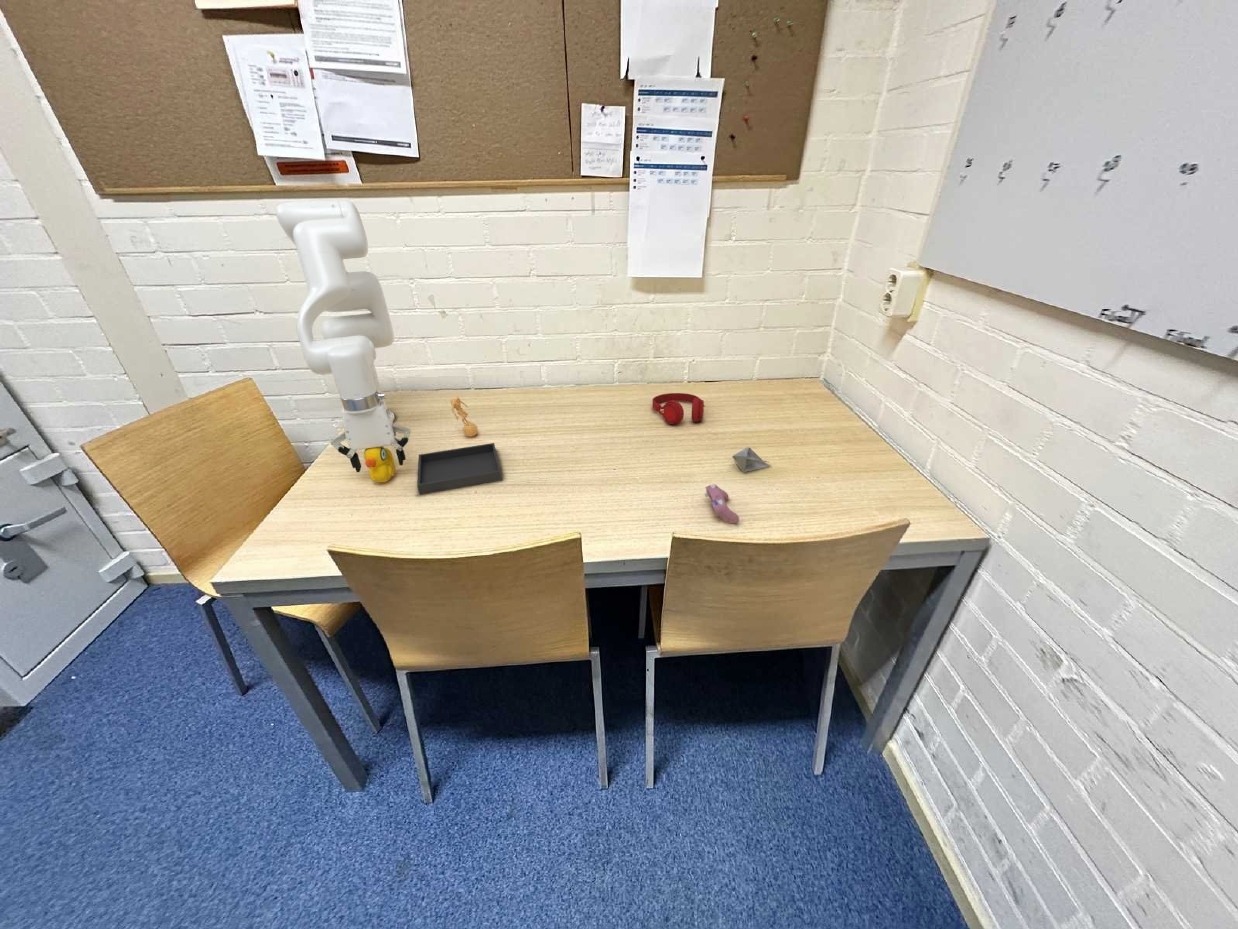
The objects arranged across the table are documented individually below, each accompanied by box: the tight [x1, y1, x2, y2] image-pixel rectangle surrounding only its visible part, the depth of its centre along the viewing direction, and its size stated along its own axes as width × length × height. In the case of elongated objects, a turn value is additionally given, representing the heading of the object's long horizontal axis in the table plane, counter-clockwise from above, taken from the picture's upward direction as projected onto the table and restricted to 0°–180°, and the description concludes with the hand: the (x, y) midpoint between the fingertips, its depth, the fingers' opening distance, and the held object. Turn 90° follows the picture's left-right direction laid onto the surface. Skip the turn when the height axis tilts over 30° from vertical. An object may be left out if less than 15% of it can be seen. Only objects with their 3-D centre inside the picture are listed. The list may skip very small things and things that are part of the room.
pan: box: [416, 442, 503, 496], centre depth 124 cm, size 15×19×3 cm
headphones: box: [651, 392, 706, 425], centre depth 152 cm, size 15×7×20 cm
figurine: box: [449, 396, 478, 438], centre depth 138 cm, size 8×6×12 cm
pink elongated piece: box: [704, 483, 740, 524], centre depth 108 cm, size 10×5×7 cm, turn 5°
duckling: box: [363, 446, 396, 483], centre depth 119 cm, size 11×5×10 cm, turn 4°
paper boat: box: [731, 446, 769, 473], centre depth 122 cm, size 12×6×9 cm
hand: (380, 466), depth 120 cm, fingers open, 9 cm apart
